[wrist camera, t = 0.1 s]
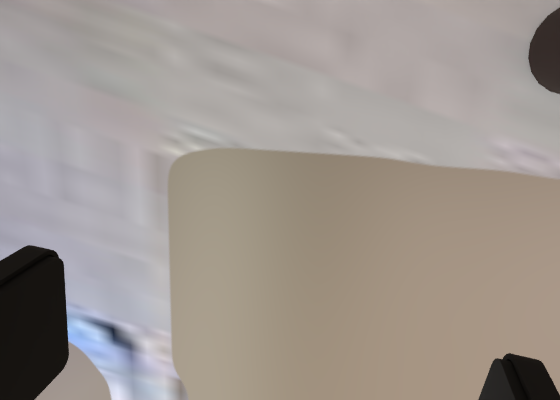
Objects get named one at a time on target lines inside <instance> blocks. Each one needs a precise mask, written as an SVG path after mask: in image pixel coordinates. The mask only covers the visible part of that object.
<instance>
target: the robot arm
mask: <svg viewBox="0 0 560 400" xmlns="http://www.w3.org/2000/svg"><path fill="white" fill-rule="evenodd" d="M68 356H69V349H68V331H67V314H66V296H65V279H64V264H63V261H62V260H61V259H60V258H59V257H58V254H57V253H56V252H55V251H54V250H50V249H45V248H41V247H36V246H30V245H28V246H26V247H23V248H22V249H20V250H18V251H17V252H15V253H13V254H11V255H10V256H8V257H6V258H4V259H3V260H1V261H0V400H34V399H35V398H36V397H37V396H38V395H39V394H40V393H41V392H42V391H43V390H44V389H45V388H46V387H47V386H48V385H49V384H50V383H51V382H52V381H53V379H54V378H55V377H56V376H57V375H58V374H59V373H60V372H61V371H62V370H63V369H64V367H65V365H66V363H67V360H68ZM479 400H560V395H559V393H558V391H557V389H556V387H555V385H554V383H553V381H552V379H551V378H550V376H549V374H548V372H547V370H546V368H545V366H544V365H543V363H542V362H541V361H539V360H536V359H532V358H527V357H523V356H519V355H514V354H510V353H509V354H506V355H505V356H504V357H503V359H495V360H494V361H493V363H492V365H491V368H490V370H489V373H488V376H487V378H486V381H485V384H484V386H483V389H482V392H481V394H480V397H479Z"/></svg>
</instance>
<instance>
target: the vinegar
mask: <svg viewBox="0 0 560 400" xmlns="http://www.w3.org/2000/svg"><path fill="white" fill-rule="evenodd" d="M528 59H529V63H530V68H531V72H532V74H533V75H534V77H535V78H536V80H537V81H538V83H539V84H541V85H542V86H543V87H545V88H546V89H548V90H549V91H551V92H555V93H558V94H560V8H558V9H557V10H556V11H554V12H553V13H551V14H550V15H548V16H547V18H546V19H545V20H544V21H543V22H542V23H541V25H540V26H539V27H538V28H537V30H536V32H535V34H534V36H533V39H532V41H531V43H530V49H529V57H528Z"/></svg>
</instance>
